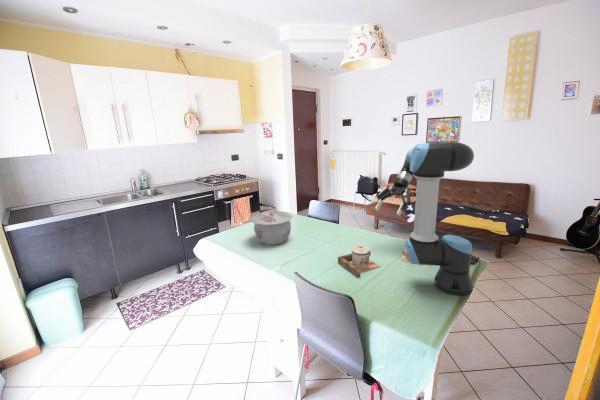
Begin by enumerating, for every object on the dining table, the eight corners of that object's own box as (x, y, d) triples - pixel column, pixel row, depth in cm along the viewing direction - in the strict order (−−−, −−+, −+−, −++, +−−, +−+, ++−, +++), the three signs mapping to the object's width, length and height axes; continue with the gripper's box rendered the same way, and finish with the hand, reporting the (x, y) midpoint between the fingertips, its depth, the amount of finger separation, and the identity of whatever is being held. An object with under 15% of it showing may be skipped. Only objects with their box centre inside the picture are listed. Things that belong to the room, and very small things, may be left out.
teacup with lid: (360, 271, 143) (361, 250, 140) (348, 264, 150) (348, 245, 147) (376, 264, 149) (377, 244, 146) (363, 258, 157) (364, 239, 154)
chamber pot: (279, 252, 169) (276, 220, 164) (244, 245, 183) (241, 215, 178) (301, 236, 193) (300, 207, 188) (269, 230, 206) (267, 204, 201)
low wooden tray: (384, 269, 145) (384, 263, 144) (357, 277, 138) (357, 271, 137) (362, 255, 160) (362, 250, 160) (338, 262, 154) (337, 256, 153)
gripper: (426, 187, 152) (410, 220, 147) (386, 182, 171) (370, 211, 165) (422, 179, 147) (405, 213, 142) (381, 175, 166) (365, 204, 161)
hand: (386, 212), depth 154 cm, fingers open, 13 cm apart
